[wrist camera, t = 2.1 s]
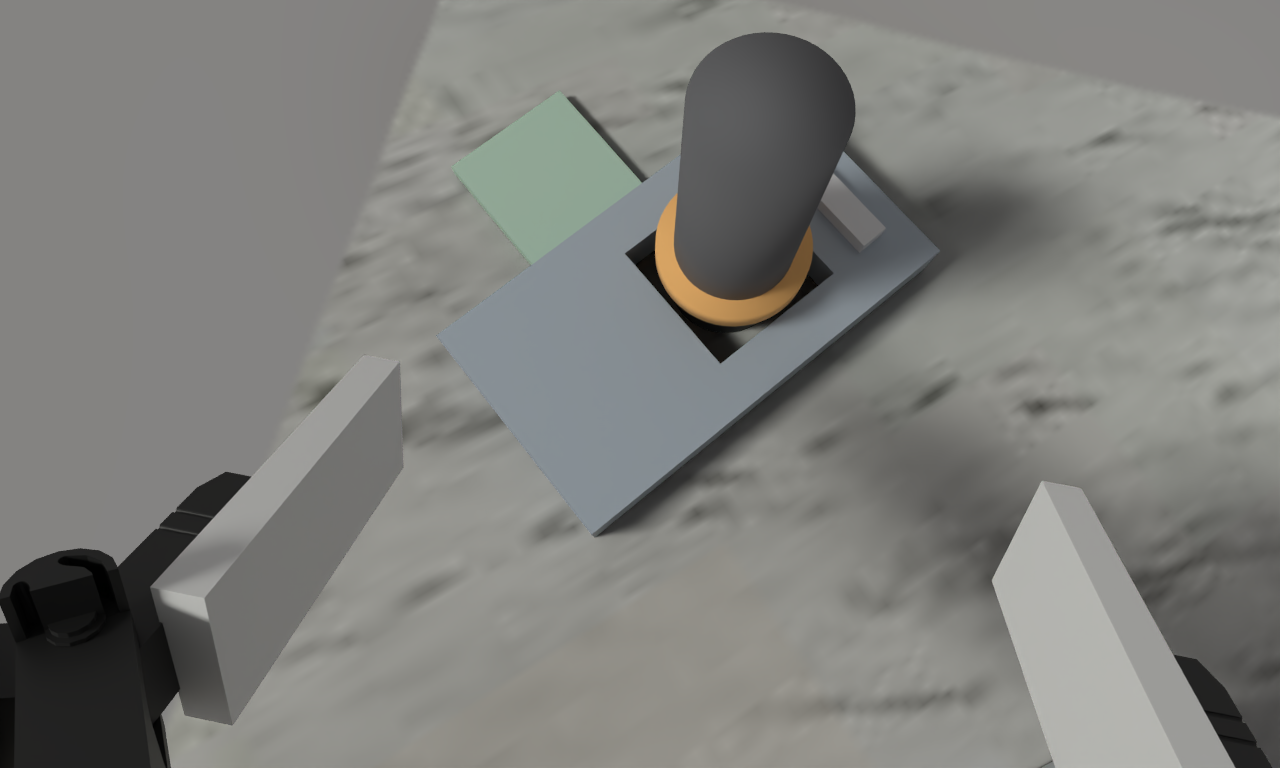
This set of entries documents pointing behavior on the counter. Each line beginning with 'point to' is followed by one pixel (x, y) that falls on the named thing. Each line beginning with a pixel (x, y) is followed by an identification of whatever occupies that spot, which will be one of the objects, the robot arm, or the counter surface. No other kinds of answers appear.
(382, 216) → the counter surface
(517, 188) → the pad
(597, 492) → the square cutout plate
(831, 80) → the plug
